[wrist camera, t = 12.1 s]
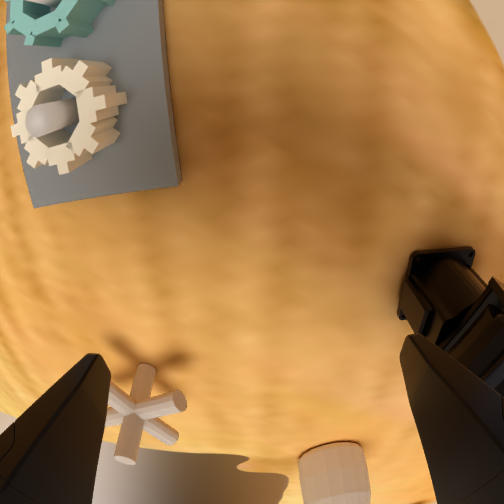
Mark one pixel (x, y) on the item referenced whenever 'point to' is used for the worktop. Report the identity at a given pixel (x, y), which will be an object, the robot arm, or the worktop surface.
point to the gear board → (130, 115)
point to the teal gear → (53, 20)
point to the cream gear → (89, 110)
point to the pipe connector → (141, 414)
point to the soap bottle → (335, 475)
